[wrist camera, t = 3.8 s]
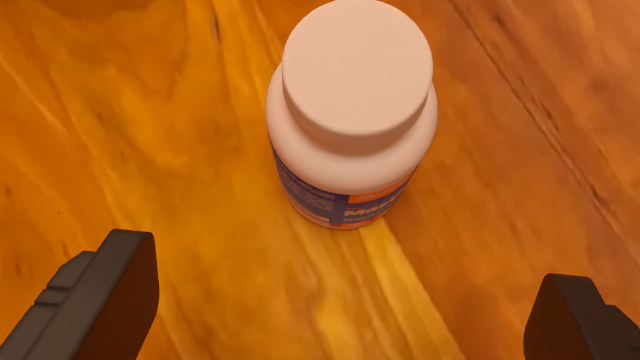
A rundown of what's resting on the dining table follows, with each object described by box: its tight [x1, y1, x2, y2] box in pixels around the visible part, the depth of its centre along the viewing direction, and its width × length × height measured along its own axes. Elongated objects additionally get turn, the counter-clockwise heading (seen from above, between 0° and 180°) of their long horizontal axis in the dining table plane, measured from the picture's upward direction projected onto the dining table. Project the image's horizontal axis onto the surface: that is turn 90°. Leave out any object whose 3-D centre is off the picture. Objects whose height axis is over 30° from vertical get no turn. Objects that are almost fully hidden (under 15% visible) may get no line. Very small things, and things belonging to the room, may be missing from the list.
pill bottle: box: [265, 0, 438, 229], centre depth 19 cm, size 5×5×10 cm
